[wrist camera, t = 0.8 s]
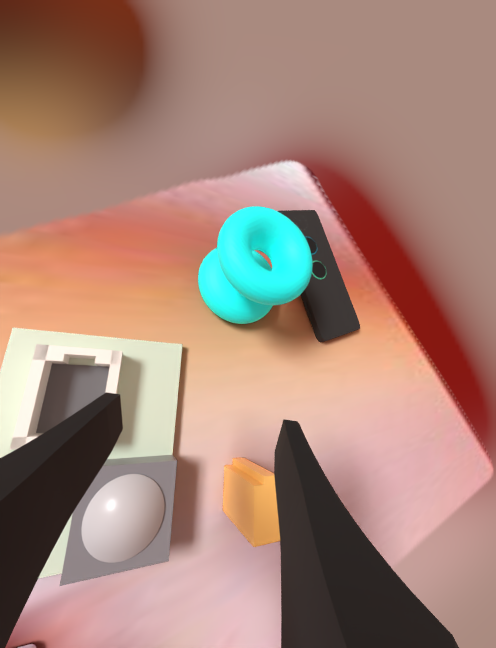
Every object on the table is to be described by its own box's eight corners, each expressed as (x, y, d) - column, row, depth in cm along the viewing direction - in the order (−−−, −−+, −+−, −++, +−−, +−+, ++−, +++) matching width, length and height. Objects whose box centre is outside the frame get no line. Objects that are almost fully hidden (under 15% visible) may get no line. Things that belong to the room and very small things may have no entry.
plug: (250, 507, 26) (287, 541, 20) (222, 512, 25) (253, 549, 19) (250, 456, 28) (286, 473, 22) (224, 458, 26) (254, 477, 20)
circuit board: (162, 547, 22) (163, 551, 22) (-58, 592, 17) (-66, 600, 16) (180, 345, 28) (182, 344, 27) (16, 329, 22) (12, 327, 21)
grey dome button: (164, 544, 22) (168, 562, 20) (67, 564, 19) (59, 587, 17) (172, 454, 24) (177, 460, 22) (85, 460, 21) (80, 468, 19)
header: (109, 440, 22) (108, 444, 20) (20, 444, 20) (9, 449, 18) (122, 354, 24) (122, 351, 22) (44, 348, 22) (36, 344, 20)
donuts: (334, 269, 26) (271, 320, 21) (282, 301, 35) (229, 342, 30) (278, 187, 26) (200, 220, 21) (239, 240, 34) (178, 272, 30)
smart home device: (317, 209, 41) (362, 327, 38) (310, 215, 42) (353, 330, 40) (275, 209, 37) (323, 341, 34) (269, 217, 38) (315, 344, 36)
